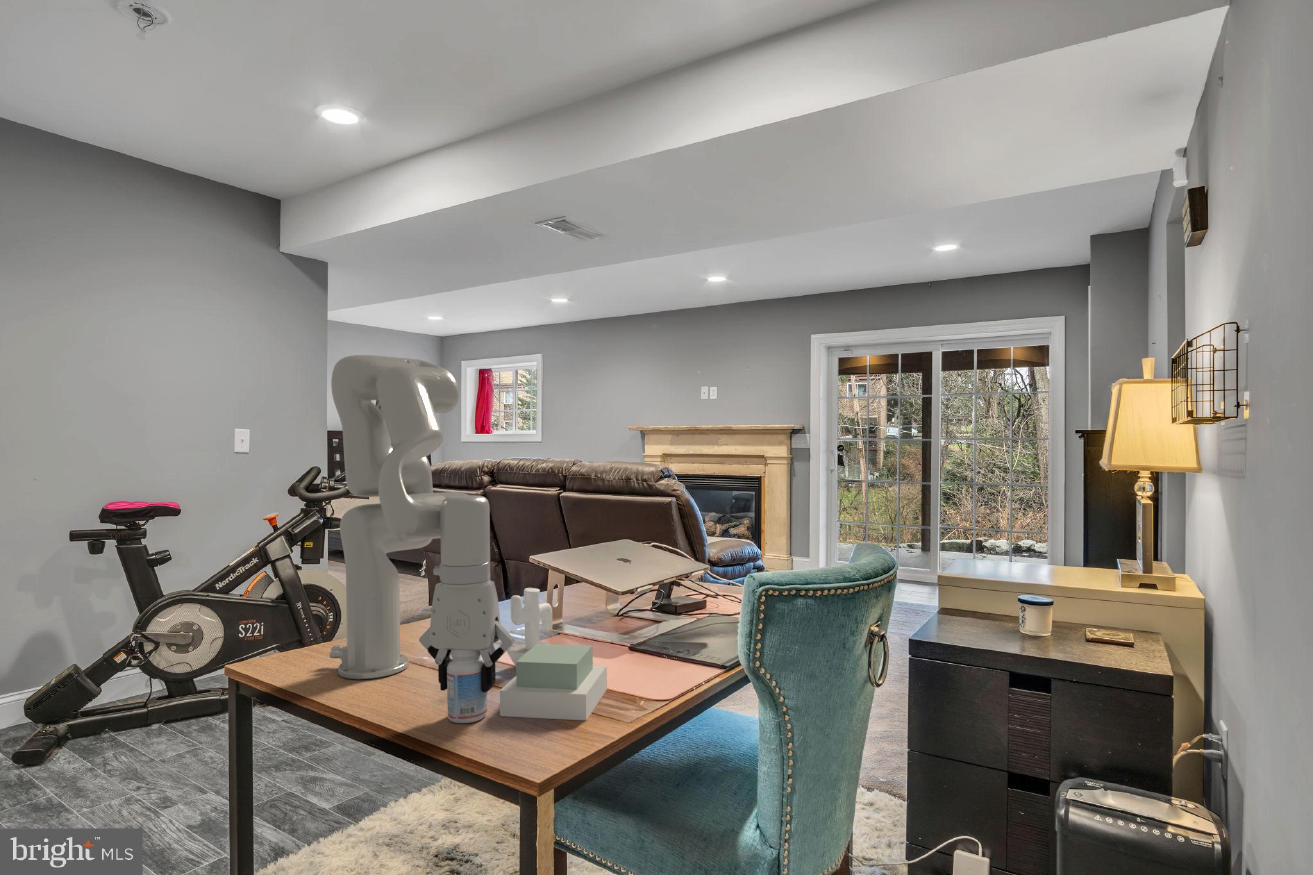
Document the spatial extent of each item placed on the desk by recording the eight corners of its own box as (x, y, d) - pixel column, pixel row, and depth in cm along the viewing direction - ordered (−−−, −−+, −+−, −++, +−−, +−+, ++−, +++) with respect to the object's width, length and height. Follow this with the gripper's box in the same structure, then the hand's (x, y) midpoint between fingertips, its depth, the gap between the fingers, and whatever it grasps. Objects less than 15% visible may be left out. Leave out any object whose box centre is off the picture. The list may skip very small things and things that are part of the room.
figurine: (563, 663, 136) (562, 586, 136) (526, 677, 129) (525, 595, 129) (537, 657, 141) (537, 582, 141) (500, 669, 133) (500, 590, 133)
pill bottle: (494, 711, 113) (493, 641, 113) (475, 726, 107) (475, 652, 107) (459, 708, 114) (458, 639, 114) (439, 723, 108) (439, 650, 108)
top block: (516, 686, 112) (516, 661, 112) (536, 666, 122) (536, 643, 122) (577, 689, 111) (576, 663, 111) (592, 669, 120) (592, 645, 120)
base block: (500, 715, 110) (499, 690, 111) (530, 685, 124) (529, 662, 124) (586, 720, 108) (586, 694, 108) (607, 688, 122) (606, 665, 122)
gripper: (402, 577, 108) (403, 694, 108) (509, 579, 105) (510, 699, 105) (426, 569, 116) (427, 678, 115) (526, 570, 113) (527, 682, 113)
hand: (467, 687), depth 110 cm, fingers closed on pill bottle, 6 cm apart
